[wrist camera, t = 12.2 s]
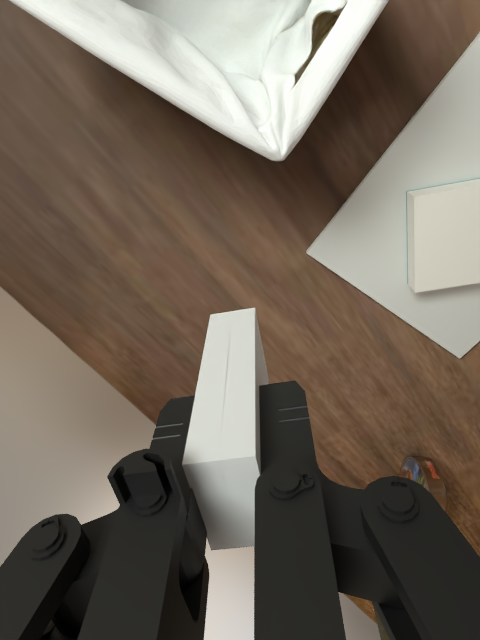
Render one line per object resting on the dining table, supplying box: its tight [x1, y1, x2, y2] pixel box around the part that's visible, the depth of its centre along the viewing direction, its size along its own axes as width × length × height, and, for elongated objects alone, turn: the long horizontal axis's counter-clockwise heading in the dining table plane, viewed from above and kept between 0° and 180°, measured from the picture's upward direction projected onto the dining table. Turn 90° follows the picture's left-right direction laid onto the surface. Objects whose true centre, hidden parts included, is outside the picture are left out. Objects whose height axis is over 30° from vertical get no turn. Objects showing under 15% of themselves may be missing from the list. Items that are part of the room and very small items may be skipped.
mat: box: [306, 33, 480, 359], centre depth 45 cm, size 24×23×1 cm
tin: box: [399, 456, 447, 512], centre depth 59 cm, size 15×3×8 cm, turn 179°
